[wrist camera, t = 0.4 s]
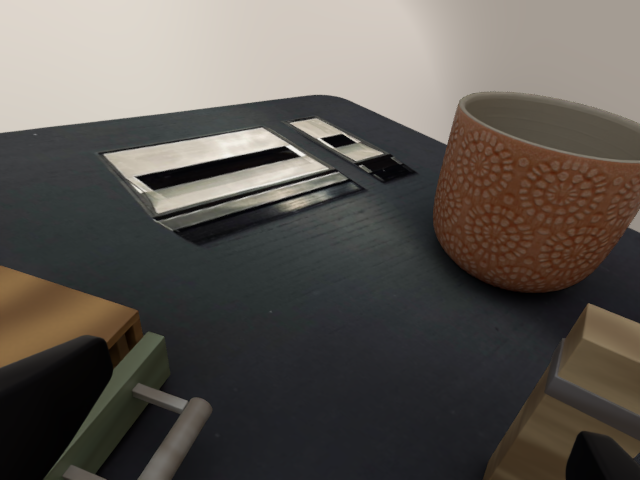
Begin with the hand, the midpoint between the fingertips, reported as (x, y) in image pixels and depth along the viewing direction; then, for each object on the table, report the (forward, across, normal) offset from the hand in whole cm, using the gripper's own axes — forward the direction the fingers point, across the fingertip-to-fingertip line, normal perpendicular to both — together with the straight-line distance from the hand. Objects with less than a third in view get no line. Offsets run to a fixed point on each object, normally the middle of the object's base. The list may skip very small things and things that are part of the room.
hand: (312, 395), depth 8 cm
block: (+13, -9, +18) cm, 24 cm away
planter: (+37, -10, +15) cm, 41 cm away
